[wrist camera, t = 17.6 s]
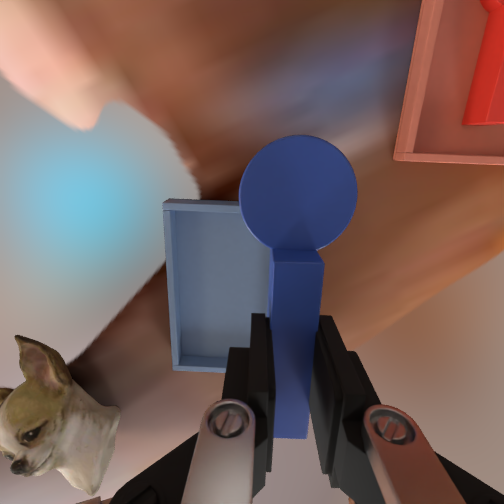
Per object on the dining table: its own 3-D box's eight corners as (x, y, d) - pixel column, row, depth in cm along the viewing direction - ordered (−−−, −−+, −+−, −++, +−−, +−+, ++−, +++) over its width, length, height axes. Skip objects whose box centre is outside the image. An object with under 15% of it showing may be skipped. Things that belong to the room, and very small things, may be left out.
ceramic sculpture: (51, 544, 27) (-101, 450, 25) (103, 454, 35) (-8, 377, 33) (119, 485, 24) (-45, 373, 22) (158, 402, 33) (42, 315, 30)
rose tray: (443, -116, 18) (463, -144, 17) (610, -110, 18) (648, -138, 17) (392, 159, 24) (403, 161, 22) (521, 165, 24) (543, 166, 22)
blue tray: (168, 198, 25) (162, 202, 24) (290, 203, 25) (292, 207, 23) (177, 357, 31) (172, 370, 29) (277, 361, 31) (278, 375, 29)
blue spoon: (325, 390, 14) (339, 441, 11) (237, 387, 14) (232, 436, 11) (354, 139, 11) (383, 132, 8) (241, 136, 11) (235, 128, 8)
